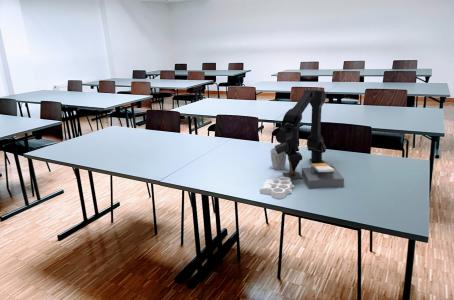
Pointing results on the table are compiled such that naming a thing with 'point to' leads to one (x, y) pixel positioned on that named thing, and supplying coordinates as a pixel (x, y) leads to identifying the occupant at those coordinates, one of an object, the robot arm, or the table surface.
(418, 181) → the table surface
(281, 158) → the mug
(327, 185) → the grey square block
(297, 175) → the black mat
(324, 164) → the white and orange panel
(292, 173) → the walnut cylinder
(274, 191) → the white lobed tray
